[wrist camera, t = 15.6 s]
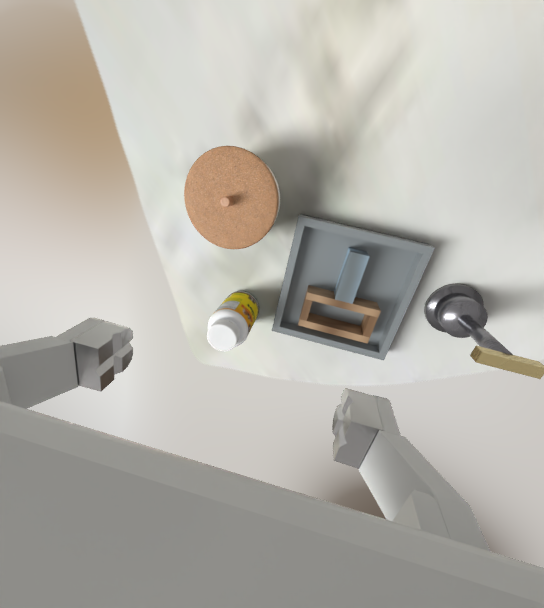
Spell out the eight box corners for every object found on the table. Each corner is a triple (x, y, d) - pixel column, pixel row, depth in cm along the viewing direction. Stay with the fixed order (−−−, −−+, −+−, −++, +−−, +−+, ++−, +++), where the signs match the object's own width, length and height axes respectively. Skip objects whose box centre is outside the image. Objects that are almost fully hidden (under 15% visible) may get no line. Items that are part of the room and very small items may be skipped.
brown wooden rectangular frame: (394, 258, 37) (400, 263, 34) (364, 333, 42) (367, 343, 39) (320, 240, 38) (320, 244, 35) (299, 316, 43) (298, 325, 40)
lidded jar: (264, 135, 35) (244, 120, 26) (299, 217, 38) (292, 227, 29) (194, 177, 38) (157, 176, 30) (232, 249, 41) (208, 267, 33)
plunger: (416, 322, 41) (456, 383, 28) (437, 278, 38) (493, 324, 25) (465, 335, 40) (527, 403, 28) (490, 290, 37) (573, 344, 25)
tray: (300, 214, 38) (298, 216, 35) (427, 243, 36) (434, 247, 34) (274, 323, 45) (271, 330, 42) (380, 351, 44) (383, 360, 41)
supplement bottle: (260, 322, 45) (244, 358, 36) (227, 321, 46) (203, 356, 37) (259, 289, 43) (241, 319, 34) (224, 289, 44) (197, 317, 35)
